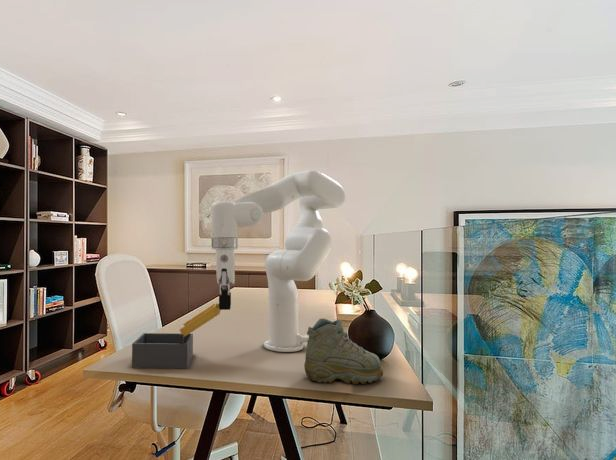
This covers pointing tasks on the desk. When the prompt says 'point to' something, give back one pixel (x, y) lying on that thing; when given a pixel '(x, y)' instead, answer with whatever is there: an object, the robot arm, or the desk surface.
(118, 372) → the desk surface
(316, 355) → the sneaker
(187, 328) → the tipping tray
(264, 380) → the desk surface
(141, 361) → the bin
